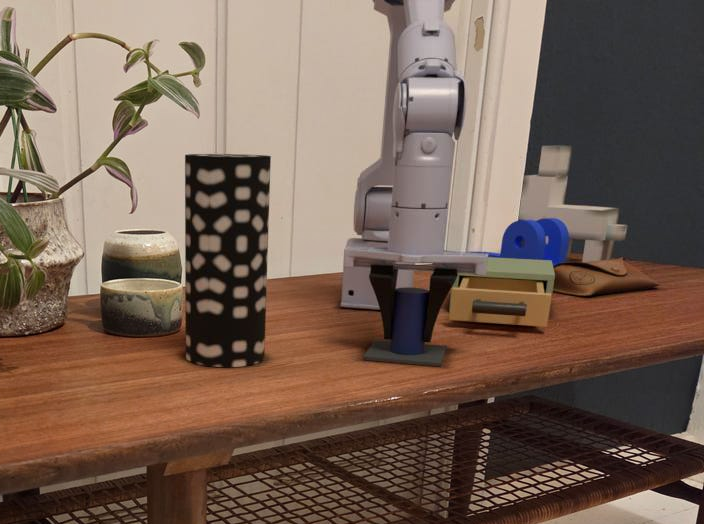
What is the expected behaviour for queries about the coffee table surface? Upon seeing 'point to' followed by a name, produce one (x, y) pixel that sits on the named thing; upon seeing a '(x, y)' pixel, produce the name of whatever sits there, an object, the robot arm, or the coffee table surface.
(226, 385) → the coffee table surface
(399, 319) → the dark blue cylinder
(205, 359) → the white-spotted black cylinder
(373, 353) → the mat
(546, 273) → the cabinet
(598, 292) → the sunglasses case
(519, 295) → the drawer
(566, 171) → the toy llama
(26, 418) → the coffee table surface
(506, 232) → the bracket
